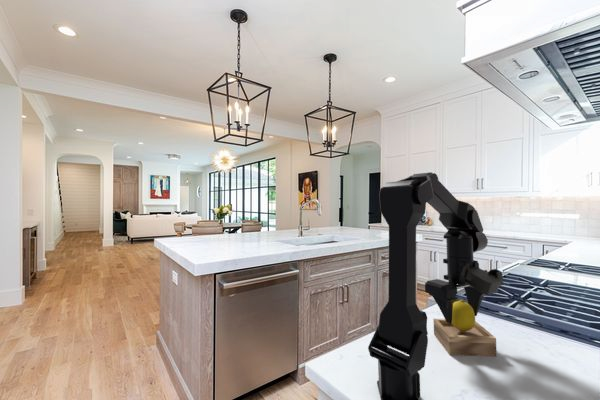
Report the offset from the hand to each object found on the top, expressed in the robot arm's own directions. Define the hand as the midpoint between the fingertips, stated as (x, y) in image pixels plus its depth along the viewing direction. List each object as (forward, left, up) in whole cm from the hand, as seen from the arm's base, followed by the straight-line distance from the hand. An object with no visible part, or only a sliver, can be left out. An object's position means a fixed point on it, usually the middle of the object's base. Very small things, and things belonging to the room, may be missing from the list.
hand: (461, 319), depth 69 cm
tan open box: (0, 0, -6) cm, 6 cm away
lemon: (0, 0, -4) cm, 4 cm away
